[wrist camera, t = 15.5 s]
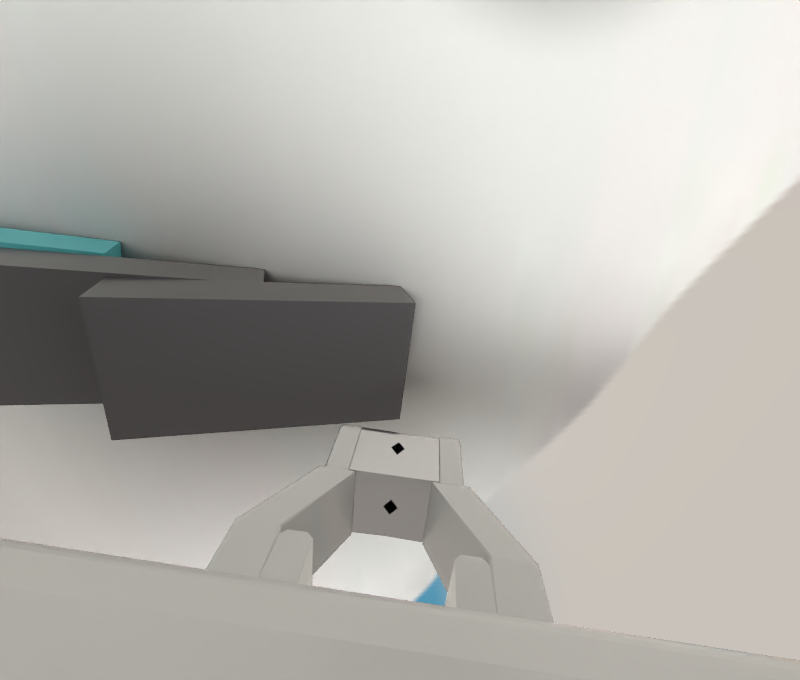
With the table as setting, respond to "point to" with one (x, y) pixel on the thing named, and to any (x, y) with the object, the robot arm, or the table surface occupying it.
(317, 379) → the domino
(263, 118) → the table surface
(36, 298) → the domino
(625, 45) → the table surface
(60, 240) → the domino teal
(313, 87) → the table surface
